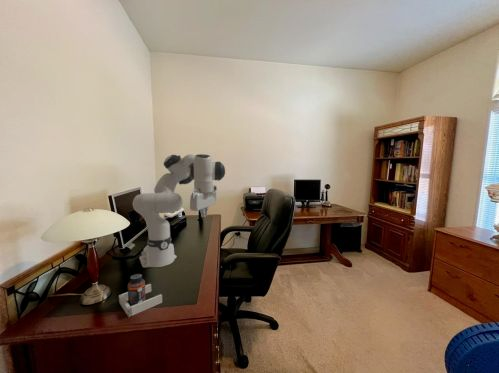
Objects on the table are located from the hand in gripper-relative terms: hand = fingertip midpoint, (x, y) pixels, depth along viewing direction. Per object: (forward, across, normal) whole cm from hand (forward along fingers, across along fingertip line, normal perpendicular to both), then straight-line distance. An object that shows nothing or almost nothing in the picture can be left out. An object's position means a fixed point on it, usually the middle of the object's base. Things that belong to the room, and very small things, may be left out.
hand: (204, 216), depth 106 cm
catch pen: (+29, -28, +14) cm, 42 cm away
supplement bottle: (+29, -29, +14) cm, 44 cm away
